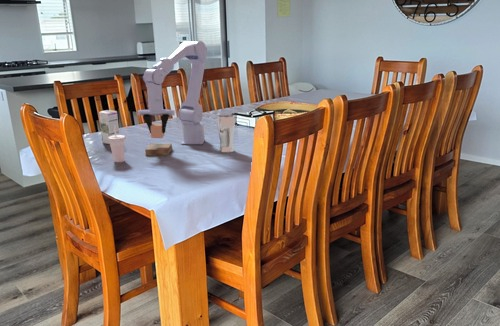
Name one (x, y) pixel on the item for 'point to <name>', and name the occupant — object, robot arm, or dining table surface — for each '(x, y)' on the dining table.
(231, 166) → the dining table surface
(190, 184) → the dining table surface
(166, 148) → the walnut base
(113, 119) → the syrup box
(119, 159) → the smoothie
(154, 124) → the terracotta block
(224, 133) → the beer glass
